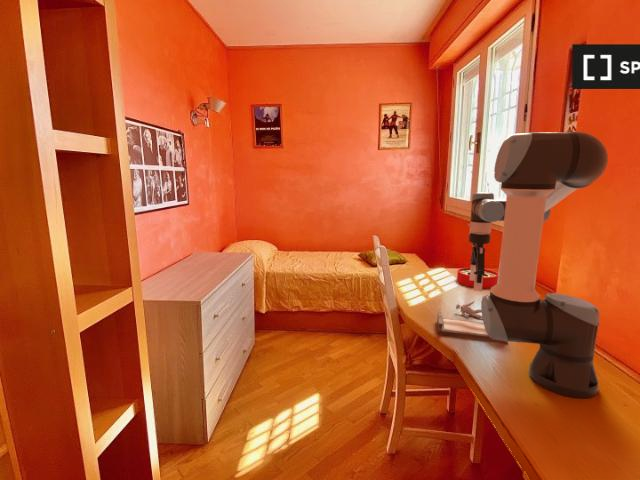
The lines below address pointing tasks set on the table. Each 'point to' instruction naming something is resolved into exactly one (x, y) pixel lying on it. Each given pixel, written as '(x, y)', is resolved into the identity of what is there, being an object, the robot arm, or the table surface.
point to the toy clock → (464, 278)
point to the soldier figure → (469, 310)
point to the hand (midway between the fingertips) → (475, 285)
